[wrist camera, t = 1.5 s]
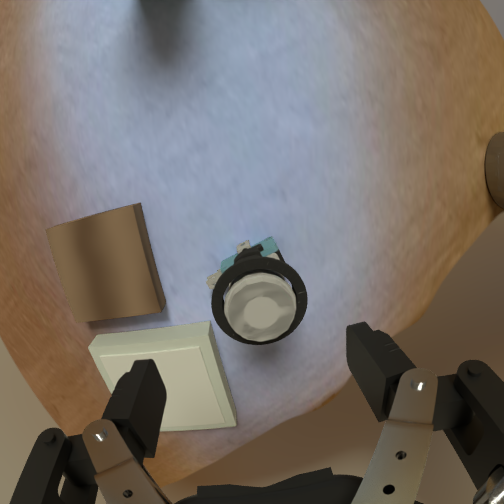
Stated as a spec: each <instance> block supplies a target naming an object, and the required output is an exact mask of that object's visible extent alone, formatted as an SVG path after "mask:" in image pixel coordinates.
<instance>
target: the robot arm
mask: <svg viewBox="0 0 504 504" xmlns="http://www.w3.org/2000/svg"><path fill="white" fill-rule="evenodd" d="M485 170H486V179H487V184H488V188H489V191H490V194H491V196H492V198H493V199H494V201H495V202H496V203H497V205H499V206H500V207H502V208H504V132H500V133H497V134H495V135H494V136H493V137H492V139H491V140H490V143H489V145H488V148H487V153H486V161H485ZM346 357H347V363H348V366H349V369H350V371H351V373H352V374H353V376H354V378H355V380H356V382H357V383H358V385H359V387H360V389H361V391H362V392H363V394H364V396H365V398H366V400H367V402H368V403H369V405H370V407H371V409H372V411H373V412H374V414H375V416H376V418H377V420H378V422H381V421H384V420H386V423H385V426H384V428H383V431H382V434H381V437H380V439H379V442H378V445H377V447H376V450H375V453H374V455H373V458H372V460H371V462H370V465H369V467H368V469H367V472H366V474H365V476H364V478H362V477H357V476H352V475H333V473H332V470H331V467H329V468H325V469H321V470H317V471H313V472H309V473H304V474H299V475H296V476H294V477H291V478H289V479H286V480H284V481H281V482H278V483H276V484H273V485H270V486H267V487H249V486H239V485H230V484H229V485H212V486H198V487H197V494H196V495H193V496H190V497H187V498H184V499H182V500H180V501H178V502H176V503H175V504H423V503H420V502H418V501H415V498H416V495H417V492H418V488H419V485H420V482H421V479H422V475H423V472H424V468H425V464H426V460H427V456H428V452H429V447H430V442H431V438H432V433H433V431H438V430H443V431H444V432H445V434H446V436H447V437H448V439H449V441H450V442H451V444H452V446H453V447H454V449H455V451H456V453H457V454H458V456H459V458H460V459H461V461H462V463H463V465H464V466H465V468H466V470H467V472H468V474H469V475H470V477H471V479H472V481H473V483H474V485H475V487H476V488H477V490H478V491H477V492H476V494H475V496H474V498H473V504H504V382H503V381H502V380H501V379H500V378H499V377H498V376H497V375H496V374H495V373H494V372H493V370H492V369H491V368H490V367H489V366H488V365H487V364H485V363H484V362H482V361H479V360H468V361H465V362H463V363H462V364H461V365H460V366H459V368H458V370H457V374H452V375H446V376H439V377H437V376H436V375H435V374H434V373H433V372H432V371H430V370H428V369H424V368H417V367H416V366H415V365H414V364H413V363H412V361H411V360H410V359H409V358H408V357H407V356H406V355H405V353H404V352H403V351H402V350H401V349H400V348H399V346H398V345H397V344H396V343H395V342H394V341H393V339H392V338H391V337H390V336H389V335H388V334H386V333H384V332H382V331H380V330H376V331H373V330H372V329H371V328H370V327H369V325H368V324H367V323H366V322H360V323H356V324H353V325H349V326H347V329H346ZM166 400H167V392H166V388H165V385H164V383H163V380H162V378H161V376H160V373H159V371H158V368H157V366H156V364H155V362H154V360H153V359H143V360H135V361H134V363H133V365H132V367H131V370H130V372H126V373H125V374H124V375H123V376H122V377H121V378H120V379H119V380H118V382H117V384H116V386H115V390H113V393H112V397H110V399H109V402H108V404H107V406H106V409H105V411H104V413H103V416H102V418H101V419H99V420H96V421H93V422H91V423H90V424H89V425H87V426H86V428H85V429H84V431H83V434H80V435H74V436H68V437H67V436H66V435H65V434H64V432H63V431H62V430H61V429H59V428H49V429H47V430H45V431H43V432H42V433H41V434H40V435H39V436H38V438H37V440H36V442H35V444H34V446H33V449H32V451H31V453H30V455H29V457H28V460H27V462H26V464H25V467H24V469H23V471H22V474H21V476H20V478H19V481H18V483H17V486H16V488H15V491H14V493H13V496H12V499H11V501H10V504H95V501H96V496H97V492H98V487H99V489H100V491H101V493H102V495H103V496H104V499H105V501H106V503H107V504H172V502H171V501H170V500H169V499H168V498H167V497H166V495H165V494H164V493H163V491H162V490H161V489H160V487H159V486H158V485H157V483H156V482H155V480H154V479H153V478H152V476H151V475H150V473H149V472H148V471H147V469H146V468H145V466H144V465H143V460H144V458H154V457H155V452H156V447H157V442H158V437H159V432H160V428H161V423H162V418H163V414H164V409H165V405H166ZM62 475H63V476H64V477H65V481H64V484H63V488H62V491H61V494H60V497H59V495H58V486H59V483H60V480H61V477H62Z"/></svg>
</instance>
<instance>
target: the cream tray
mask: <svg viewBox="0 0 504 504" xmlns="http://www.w3.org/2000/svg"><path fill="white" fill-rule="evenodd" d="M88 349H89V351H90V353H91V355H92V357H93V359H94V361H95V363H96V365H97V367H98V369H99V371H100V373H101V375H102V377H103V379H104V381H105V383H106V385H107V387H108V388H109V390H110V392H111V394H112V393H113V390H115V386H116V384H117V382H118V380H119V379H120V378H121V377H122V376H123V375H124V374H125V373H126V372H130V370H131V367H132V365H133V363H134V361H135V360H143V359H153V360H154V362H155V364H156V366H157V368H158V371H159V373H160V376H161V378H162V380H163V383H164V385H165V388H166V392H167V400H166V405H165V409H164V414H163V418H162V423H161V428H160V431H183V430H200V429H213V428H223V427H232V426H237V421H236V408H235V405H234V402H233V398H232V395H231V392H230V389H229V385H228V382H227V379H226V375H225V372H224V369H223V365H222V362H221V358H220V355H219V351H218V348H217V344H216V340H215V337H214V333H213V329H212V326H211V322H210V321H205V322H198V323H191V324H184V325H177V326H170V327H162V328H154V329H146V330H137V331H128V332H119V333H109V334H99V335H97V336H96V337H95V339H94V340H93V341H92V343H91V344H90V346H89V347H88Z"/></svg>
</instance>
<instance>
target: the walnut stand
mask: <svg viewBox="0 0 504 504" xmlns="http://www.w3.org/2000/svg"><path fill="white" fill-rule="evenodd" d="M46 233H47V237H48V241H49V244H50V248H51V252H52V255H53V258H54V262H55V265H56V268H57V271H58V275H59V278H60V281H61V283H62V286H63V289H64V292H65V295H66V298H67V300H68V303H69V306H70V308H71V311H72V313H73V316H74V318H75V321H76V323H79V322H88V321H97V320H105V319H114V318H122V317H130V316H137V315H145V314H152V313H159V312H162V310H163V308H164V306H165V303H166V300H165V296H164V293H163V290H162V286H161V283H160V279H159V275H158V272H157V268H156V264H155V261H154V257H153V253H152V249H151V245H150V241H149V237H148V233H147V229H146V225H145V220H144V216H143V211H142V207H141V203H137V204H133V205H129V206H125V207H121V208H117V209H113V210H109V211H105V212H102V213H98V214H94V215H91V216H87V217H84V218H80V219H77V220H73V221H70V222H66V223H63V224H60V225H57V226H54V227H52V228H49V229H47V230H46Z"/></svg>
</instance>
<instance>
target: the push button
mask: <svg viewBox="0 0 504 504" xmlns="http://www.w3.org/2000/svg"><path fill="white" fill-rule="evenodd" d="M243 244H244V245H243ZM241 245H242V246H241ZM237 252H238V253H237V254H235V255H233V256H231V257H229V258H227V259H225V260H223V261H222V262H221V269H219V270H217V271H218V272H217V273H215V274H213V275H211V276H209V277H207V279H208V281H206V283H207V285H208V286H209V288H210V289H213V288H214V290H213V294H212V301H211V305H212V312H213V316H214V318H215V321H216V322H217V324H218V326H219V327H220V328H221V329H222V330H223V332H225V333H226V334H227V335H228V336H230V337H231V338H233V339H235V340H237V341H239V342H242V343H246V344H251V345H264V344H269V343H273V342H276V341H279V340H281V339H283V338H285V337H286V336H288V335H289V334H290V333H292V332H293V331H294V330H295V329H296V328H297V326H298V325H299V324H300V322H301V321H302V319H303V317H304V315H305V312H306V309H307V291H306V288H305V285H304V283H303V281H302V279H301V277H300V276H299V274H298V273H297V272H296V271H295V270H294V269H293V268H292V267H291V266H289V265H288V264H286V263H285V261H284V259H283V257H282V255H281V253H280V251H279V249H278V247H277V245H276V243H275V241H274V239H273V237H269V238H266V239H264V240H263V241H261V242H259V243H257V244H255V245H253V246H250V244H249V240H247V241H245V242H243V243H241V244H239V245H237ZM283 276H285V277H286V278H287V279H288V280H289V281H290V282H291V284H292V289H291V287H290V285H289V284H288V283H287V282H285V280H284V277H283ZM212 277H214V278H212ZM215 283H216V284H215ZM213 284H215V285H213ZM228 285H229V290H228V293H227V295H226V297H225V303H224V299H223V295H224V292H225V290H226V288H227V287H228Z"/></svg>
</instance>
